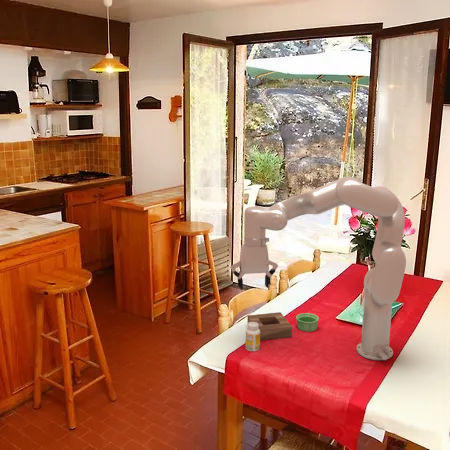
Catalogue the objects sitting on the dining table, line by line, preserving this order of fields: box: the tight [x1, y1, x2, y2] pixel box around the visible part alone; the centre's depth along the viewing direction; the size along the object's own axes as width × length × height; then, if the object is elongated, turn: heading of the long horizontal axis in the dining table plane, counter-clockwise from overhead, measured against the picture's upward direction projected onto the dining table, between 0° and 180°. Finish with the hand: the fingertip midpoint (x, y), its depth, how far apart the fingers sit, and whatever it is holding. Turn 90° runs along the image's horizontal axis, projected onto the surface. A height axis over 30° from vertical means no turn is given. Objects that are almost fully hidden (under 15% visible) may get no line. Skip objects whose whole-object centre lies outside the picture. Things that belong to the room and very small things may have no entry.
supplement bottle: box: [245, 322, 261, 352], centre depth 179 cm, size 5×5×10 cm
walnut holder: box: [246, 311, 293, 341], centre depth 193 cm, size 14×14×4 cm
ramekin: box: [295, 312, 320, 333], centre depth 196 cm, size 9×9×4 cm
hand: (253, 287), depth 177 cm, fingers open, 9 cm apart
